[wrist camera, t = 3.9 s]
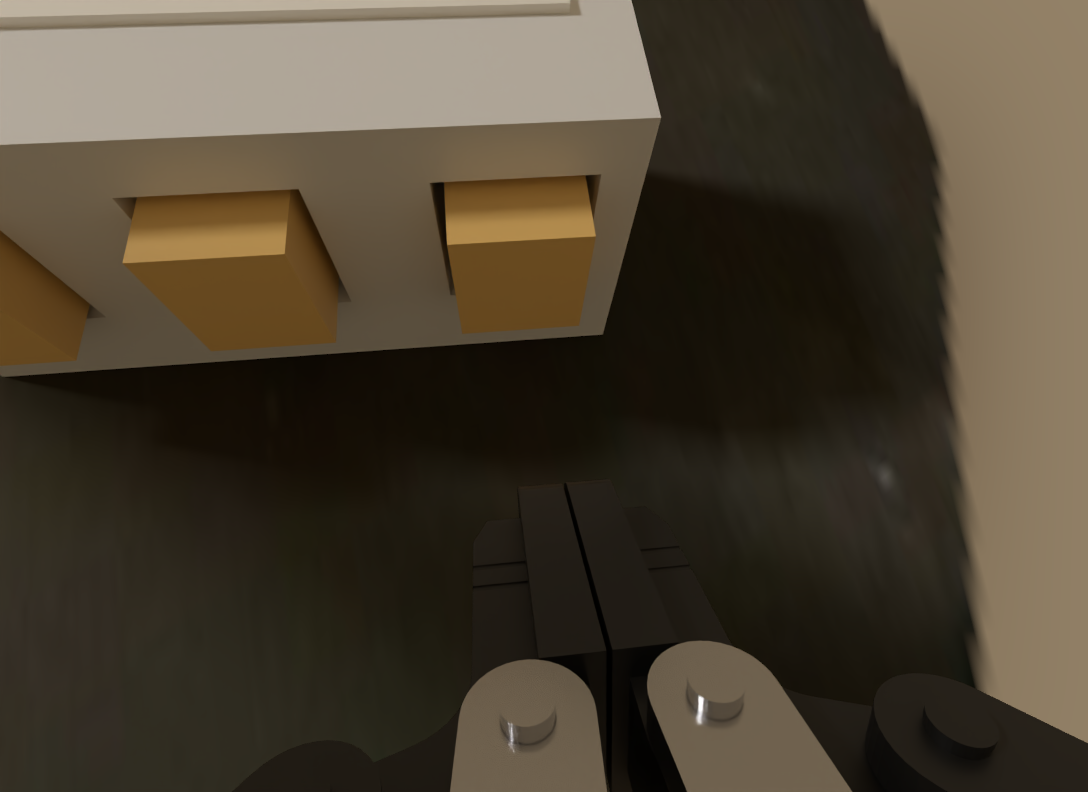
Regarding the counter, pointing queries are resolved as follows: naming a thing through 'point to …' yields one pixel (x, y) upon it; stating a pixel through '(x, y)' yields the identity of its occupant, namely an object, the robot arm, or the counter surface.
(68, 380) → the counter surface
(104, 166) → the button console
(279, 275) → the middle button
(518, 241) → the button
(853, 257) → the counter surface
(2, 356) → the button
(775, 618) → the counter surface
